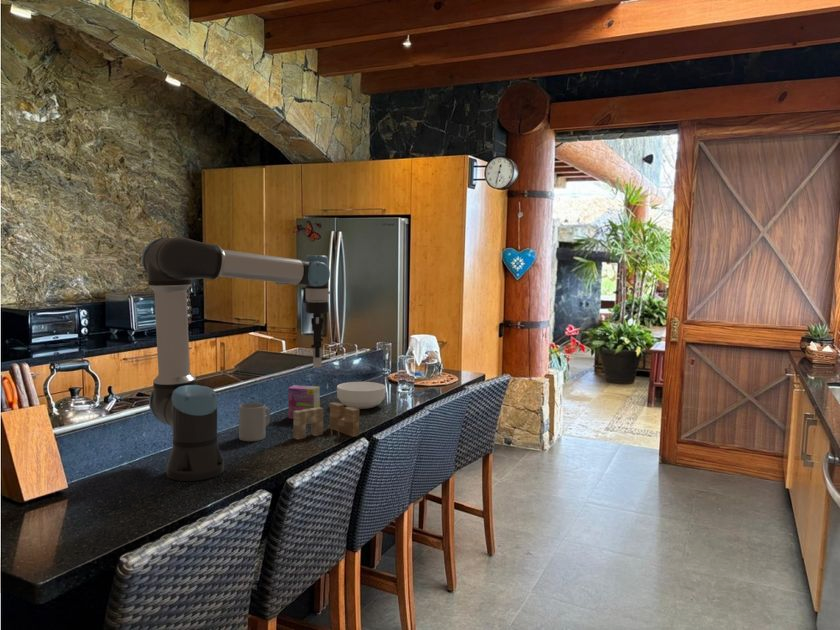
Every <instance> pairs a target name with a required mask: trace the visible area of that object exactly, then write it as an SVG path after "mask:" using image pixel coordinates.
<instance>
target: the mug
mask: <svg viewBox="0 0 840 630" xmlns="http://www.w3.org/2000/svg"><path fill="white" fill-rule="evenodd" d="M270 420H271V412H270V409H269V407H268V406H266V404H265V403H261V402H246V403H245V402H244V403H241V404H239V406H238V438H239V440H240V441H243V442H259V441H263V440H264V439H266V427H267V426H268V425H269V424H270Z"/></svg>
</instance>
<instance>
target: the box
mask: <svg viewBox="0 0 840 630" xmlns="http://www.w3.org/2000/svg"><path fill="white" fill-rule="evenodd" d="M287 392H288V393H287V395H288V399H287V400H288V403H287V404H288V405H287V406H288V419H290V420H291V419H293V420H294V411H298V410H304V409H310V408H316V407H320V408H321V400H320V398H321V393H320V392H321V387H320V386H314V385H313V386H312V385H299V384H297V385H296V384H293V385H291V386H289V387H288V391H287Z"/></svg>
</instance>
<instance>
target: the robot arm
mask: <svg viewBox="0 0 840 630" xmlns="http://www.w3.org/2000/svg"><path fill="white" fill-rule="evenodd" d="M141 264H142V267H143V269H144V271H145V272H146V274H147V285H148V287H149V288H150V289H151V290H152V291H153V293H154V308H155V311H154V312H155V328H156V329H155V330H156V352H157V354H156V355H157V370H158V373H157V376H156V377H155V378H154V379H153V380H152V382H153V383H152V384H153V385H152V386H153V389H152V391H151V393H150V395H149V398H148V406H149V409H150V411H151V413H152V415H153V416H154V417H155V418H156V419H157V420H158V421H159V422H161V423H163V424H165V425H168V426H170V427H171V428H172V429H171V430H172V448H171V451H170V453H169V454H170V455H169V457H168V461H167V464H166V467H165V470H166V471H165V472H166V473H165V474H166V477H167V478H169V479H171V480H174V481H180V482H195V481H204V480H208V479H212V478H215V477H218V476H220V475H221V474H223V472H224V471H225V461H224V458H223V455H222V453H221V450H220V447H219V443H218V404H219V403H218V397H217V392H216V391H215V390H214V389H213V388H211V387H209V386H205V385H199V384H197V379H196V376H195V375H193V373H192V372H191V366H190V365H191V364H190V339H189V320H188V319H189V317H188V295H187V294H188V292H187V291H188V290H189V288H191V287H192V282H193V281H192V280H217V279H218V278H219V277H221V278H232V279H242V280H251V281H263V282H269V283H270V282H272V283H275V284H277V285H285V286H286V285H295V286H296V285H299V286H305V300H306V302H305V312H306V313H307V314H313V315H312V316H313V317H311V318H310V319H311V322H310V323H311V331H312V332H313V337H312V338H313V339H312V340H313V342H312V343H313V344H311V345H310V348H312V367H313V368H322V365H323V364H322V361H323V360H322V351H323V350H322V342H323V341H324V339H323V338H322V332H323V324H324V318H323V317H322V314H327V313H329V302H328V300H329V295H330V294H331V291H330V290H329V280H330V277H331V273H330V272H331V271H330V268H329V258H328V256H327V255H322V254H321V255H319V254H317V255H313V254H307V255H306V256H305V259H304V260H303V259H297V258H288V257H283V256H282V257H281V256H275V255H274V256H273V255H266V254H259V253H251V252H244V251H236V250H230V249H223V248H222V247H221V246H220V245H218V244H213V243H207V242H201V241H197V240H194V239H191V238H186V237H167V236H166V237H159V238H157V239H154V240H152V241H151V242H149V243H148V244H147V245H146V246H145V247H144V249H143V251H142V254H141Z"/></svg>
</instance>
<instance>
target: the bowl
mask: <svg viewBox="0 0 840 630" xmlns="http://www.w3.org/2000/svg"><path fill="white" fill-rule="evenodd" d="M336 398H337V399H338V400H339V403H340V404H343V405H344V407H345V406H346V407H353V408H356V409H359V410H361V409H371V408H375V407H377V406H378V405H379V404H381V403H382V402H383V400H384V399H385V398H386V385H385V384H383V383H380V382H373V381H350V382H349V381H348V382H343V383H339V384H337V386H336Z"/></svg>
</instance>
